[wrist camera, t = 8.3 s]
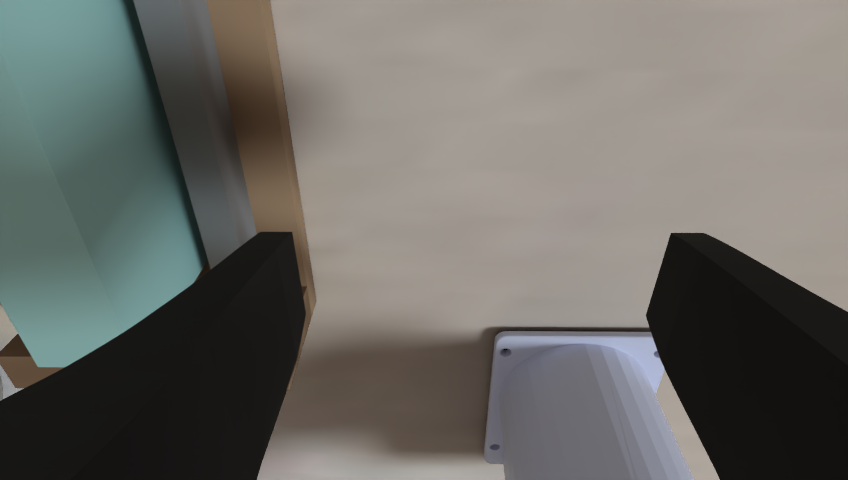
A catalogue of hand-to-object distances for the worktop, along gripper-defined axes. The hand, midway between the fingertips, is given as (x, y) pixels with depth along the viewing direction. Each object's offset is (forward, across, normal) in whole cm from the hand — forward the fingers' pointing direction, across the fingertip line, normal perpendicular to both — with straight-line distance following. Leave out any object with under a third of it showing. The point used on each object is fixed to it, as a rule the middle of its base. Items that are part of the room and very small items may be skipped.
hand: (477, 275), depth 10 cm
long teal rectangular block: (+8, +11, -1) cm, 14 cm away
